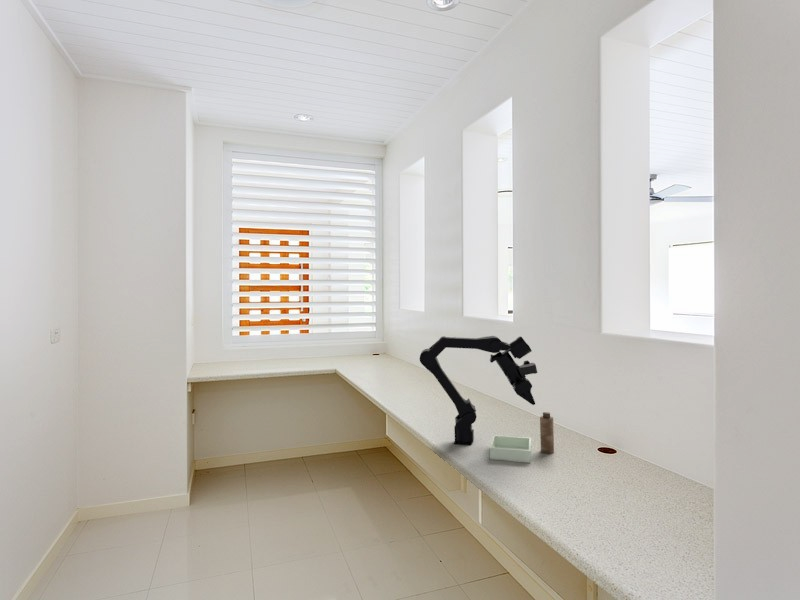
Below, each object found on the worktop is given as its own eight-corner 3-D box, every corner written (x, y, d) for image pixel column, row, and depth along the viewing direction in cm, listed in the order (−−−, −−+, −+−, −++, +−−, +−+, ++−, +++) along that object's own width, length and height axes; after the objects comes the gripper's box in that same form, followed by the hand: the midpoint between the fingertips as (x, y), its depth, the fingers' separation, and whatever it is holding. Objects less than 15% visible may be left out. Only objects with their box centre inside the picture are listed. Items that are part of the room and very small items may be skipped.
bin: (490, 459, 154) (489, 447, 154) (493, 446, 166) (493, 435, 166) (530, 462, 150) (530, 450, 150) (531, 448, 162) (531, 437, 162)
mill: (540, 453, 158) (539, 414, 157) (540, 448, 162) (539, 411, 162) (554, 454, 157) (553, 415, 156) (553, 449, 161) (552, 411, 160)
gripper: (531, 358, 159) (556, 395, 159) (522, 350, 178) (545, 384, 177) (504, 375, 160) (529, 412, 160) (498, 366, 179) (521, 399, 178)
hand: (532, 401), depth 169 cm, fingers open, 9 cm apart
